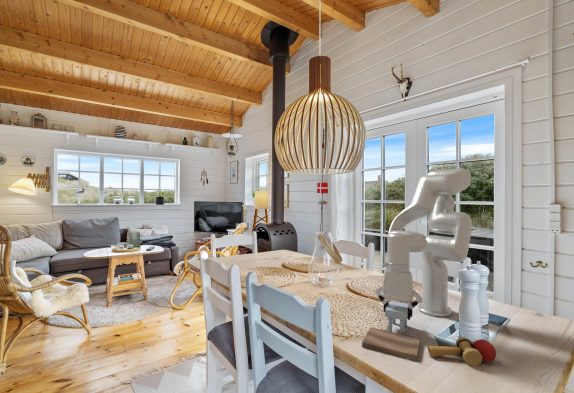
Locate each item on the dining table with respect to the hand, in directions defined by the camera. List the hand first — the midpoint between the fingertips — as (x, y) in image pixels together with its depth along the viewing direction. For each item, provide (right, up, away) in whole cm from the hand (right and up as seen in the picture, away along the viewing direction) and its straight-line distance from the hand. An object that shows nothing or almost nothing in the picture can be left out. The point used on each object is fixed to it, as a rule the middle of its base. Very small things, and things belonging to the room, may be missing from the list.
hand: (397, 316), depth 105 cm
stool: (0, -5, 0) cm, 5 cm away
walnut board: (-6, -5, -11) cm, 14 cm away
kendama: (+12, -5, -19) cm, 23 cm away
